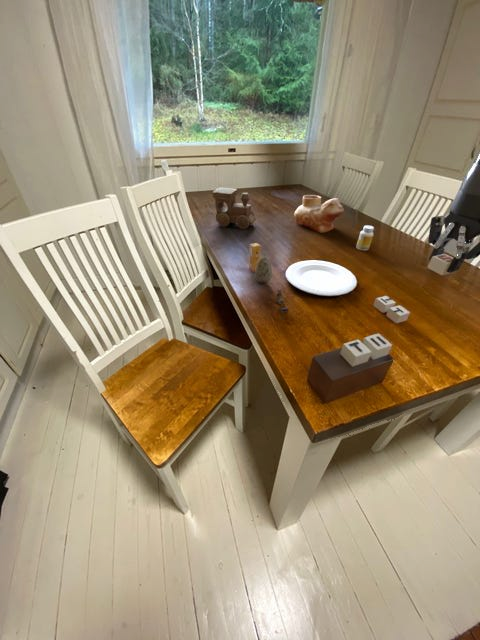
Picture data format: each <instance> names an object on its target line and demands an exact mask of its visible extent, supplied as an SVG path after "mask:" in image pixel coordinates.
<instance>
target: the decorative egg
mask: <svg viewBox="0 0 480 640" xmlns="http://www.w3.org/2000/svg"><path fill="white" fill-rule="evenodd" d="M272 276H273V266H272V262H271V260H270V259H269V257H267V256H262V257H260V260H259V261H258V263H257V266H256V269H255V271H254V277H255V279H256V281H257V282H258V283H259V284H267V283H269V282H270V280H271V279H272Z"/></svg>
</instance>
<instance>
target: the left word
mask: <svg viewBox="0 0 480 640" xmlns="http://www.w3.org/2000/svg"><path fill="white" fill-rule="evenodd" d="M362 341H363V342H362ZM362 341H361V340H360V339H355V340H352V341H348V342H345V343H343V344H342V347H341V348H342V350H341V353H340V354H341V355H342V356H343V357H344V358H345V360H346V361H347V362H348V363H349V364H350V365H351V366H352V367H353V366H356V365H359V364H362V363H365V362H367V361H368V359H369V357H371V358H372V359H373V360H374V359H377V358H380V357H383V356H386V355H388V354H389V353H390V351H391V349H392V347H393V344H392V343H391V342H390V341H388V340H387V339H386V338H385V337H384V336H383V335H382V334H380V333H379V332H378V333H375V334H372V335H368V336H365V337H364V338H363V340H362Z"/></svg>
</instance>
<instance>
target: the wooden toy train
mask: <svg viewBox="0 0 480 640" xmlns="http://www.w3.org/2000/svg"><path fill="white" fill-rule="evenodd" d="M237 196H238V189H237V188H234V187H217V188H216V189H214V190H213V191H212V198H213V199H214V204H215V211H216V214H215V221H216V222H217V223H218V225H219V226H220V227H224V228H226V227H228V226H229V225H230V223H231V224H235V225H236V226H237V227H238V228H239V229H241V230H246V229H247V228H249V227H250V226H253V224H254V223H255V222H256V219H257V218H256V217H255V214H254V212H253V211H252V204H248V203H249V201H250V199H251V197H250V194H249V193H248V192H242V194H241V195H240V201H241V202H236V197H237ZM225 204H226V205H225Z"/></svg>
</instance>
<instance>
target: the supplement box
mask: <svg viewBox="0 0 480 640" xmlns="http://www.w3.org/2000/svg"><path fill="white" fill-rule="evenodd" d="M248 245H249V246H248V247H249V251H248V252H249V258H248V259H249V263H248V265H249V270H250V271H251V272H252V273H254V272H255V269H256V266H257V263H258V261H259V260H260V259H261V251H262V250H261V249H262V248H261V247H262V245H261V244H259V243H258V242H255V243H250V244H248Z"/></svg>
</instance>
